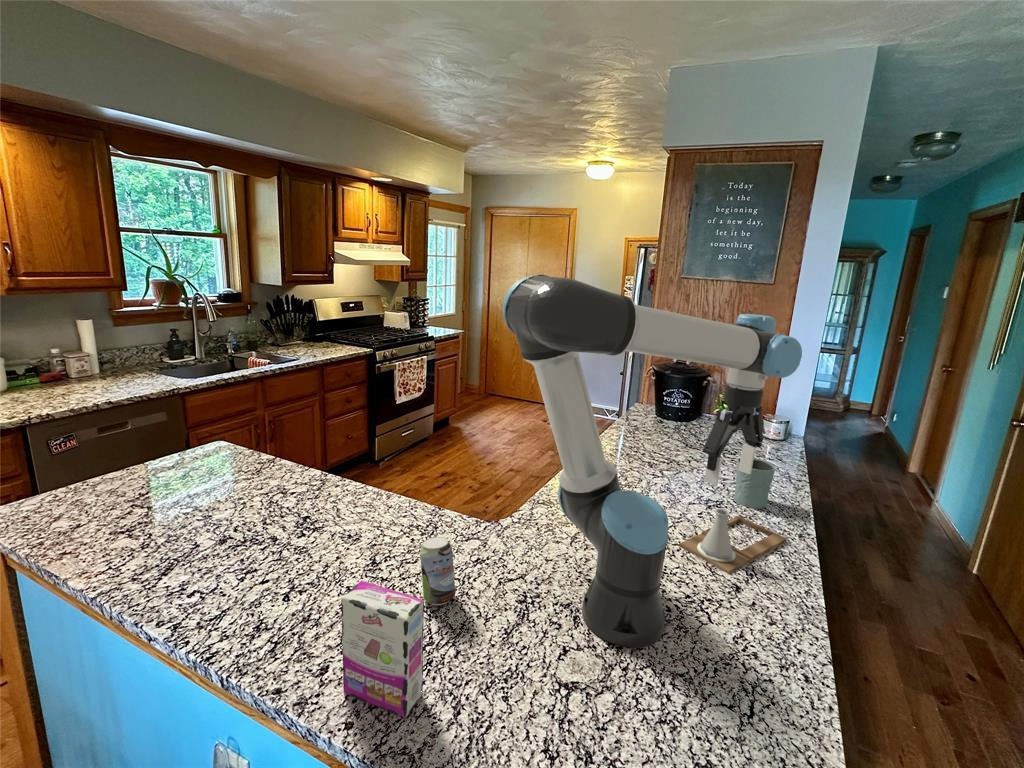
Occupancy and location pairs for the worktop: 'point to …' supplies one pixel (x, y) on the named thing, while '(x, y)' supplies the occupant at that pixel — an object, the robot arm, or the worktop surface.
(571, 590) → the worktop surface
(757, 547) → the board
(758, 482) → the green cup
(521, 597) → the worktop surface
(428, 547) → the beverage can
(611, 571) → the robot arm
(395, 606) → the candy bar box
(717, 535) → the flask
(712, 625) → the worktop surface
